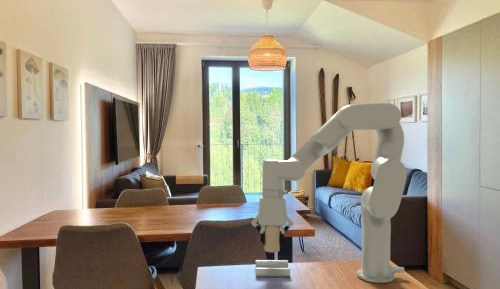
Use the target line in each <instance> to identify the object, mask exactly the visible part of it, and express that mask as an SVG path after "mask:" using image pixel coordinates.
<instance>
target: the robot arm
mask: <svg viewBox="0 0 500 289" xmlns="http://www.w3.org/2000/svg"><path fill="white" fill-rule="evenodd" d="M401 120H402V112H401V110H400V108H399V107H398V106H397V105H395V104H393V103H389V102H385V103H356V104H354V103H352V104H347V105H344V106H343V107H340V109H339V110H338V111H336V113H334V114H333V115H332V116H331V117H330V118H329V119H328V120H327V121H326V122H325V123H324V124H323V125H322V126H321V127H319V129H318V130H317V131H316V132H314V133H313V135H311V137H309V139H308V140H307V141H306V142H305V143H304V144H303V145H302V146H300V148H298V150H296V152H294V154H293V155H291V157H289V159H287V160H282V159H278V158H277V159H276V158H266V159H264V160H263V162H262V182H261V183H262V185H261V186H262V187H261V190H262V192H261V194H262V195H261V196H260V197H259V200H258V210H257V212H258V214H257V215H256V217H255V218H253V219H252V220H251V225H252V226H253V227H254V228H255V230H257V231H258V232H259V234H260V242H261V244H262V246H264V245H265V227H266V226H271V225H273V226H279V227H280V246H282V245H283V243H284V242H285V233H286V232H287V231H288V230H289V229H290V228H291V227H293V226H294V222H293V220H292V219H291V218H290V217H289V216H288V214H287V212H288V211H287V201H286V197H285V196H286V195H288V190H285V189H284V181H285V180H286V181H290V182H291V181H292V182H297V181H301V180H302V179H303V178H304V177H305V176H306V171H307V170H308V169H309V168H310V167H311V166H312V165H313V164H314V163H316V162H317V161H318V160H319V159H320V158H322V157H324V156H326V155H327V154H329V153H330V152H332V151H333V150H334V149H335V148H337V147H338V145H340V143H341V142H343V140H344V139H346V137H348V136H349V135H350V134H351V133H352V132H353V131H357V130H358V131H366V130H367V131H368V130H369V131H370V130H375V131H376V133H377V145H376V150H375V153H374V158H373V160H372V164H371V167H370V174H371V177H372V178H373V180H374V181H373V185H372V186H369V187H368V188H366V189H365V190H364V191H363V192H362V195H361V197H360V198H361V199H360V209H361V211H360V212H361V268H358V269H357V270H356V276H357V277H358V278H359V279H362V280H363V281H366V282H369V283H376V284H387V283H388V284H389V283H391V282H393V281H395V279H396V275H395V274H396V273H397V274H405V267H403V266H398V265H395V264H394V265H392V264H391V233H392V232H391V231H392V226H391V225H392V223H391V219H392V218H393V217H394V216H395V215H396V213H397V212H398V210H399V208H400V204H401V201H402V197H403V193H404V189H405V186H406V183H407V182H406V181H407V174H408V173H407V168H406V167H405V165H404V163H403V162H402V161H401V159H402V157H403V156H402V155H403V150H404V145H405V134H404V133H405V132H404V129H403V127H402V125H401V123H400V122H401ZM257 222H258V224H257Z"/></svg>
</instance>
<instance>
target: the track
mask: <svg viewBox="0 0 500 289" xmlns="http://www.w3.org/2000/svg"><path fill="white" fill-rule="evenodd" d="M255 278H257V279H260V278H264V279H266V278H269V279H270V278H271V279H274V278H275V279H277V278H278V279H281V278H282V279H283V278H285V279H287V278H288V279H291V268H290V267H289V260H287V259H285V260H284V259H282V260H279V259H277V260H276V259H275V260H274V259H255Z"/></svg>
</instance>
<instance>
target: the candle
mask: <svg viewBox="0 0 500 289" xmlns="http://www.w3.org/2000/svg"><path fill="white" fill-rule="evenodd" d="M280 231H281V230H280V227H279V226H273V225H271V226H266V227H265V229H264V232H265V245H263V246H264V247H263V248H264V249H263V250H264V251H265V252H267V253H278V252H280V248H281V245H280Z"/></svg>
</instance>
